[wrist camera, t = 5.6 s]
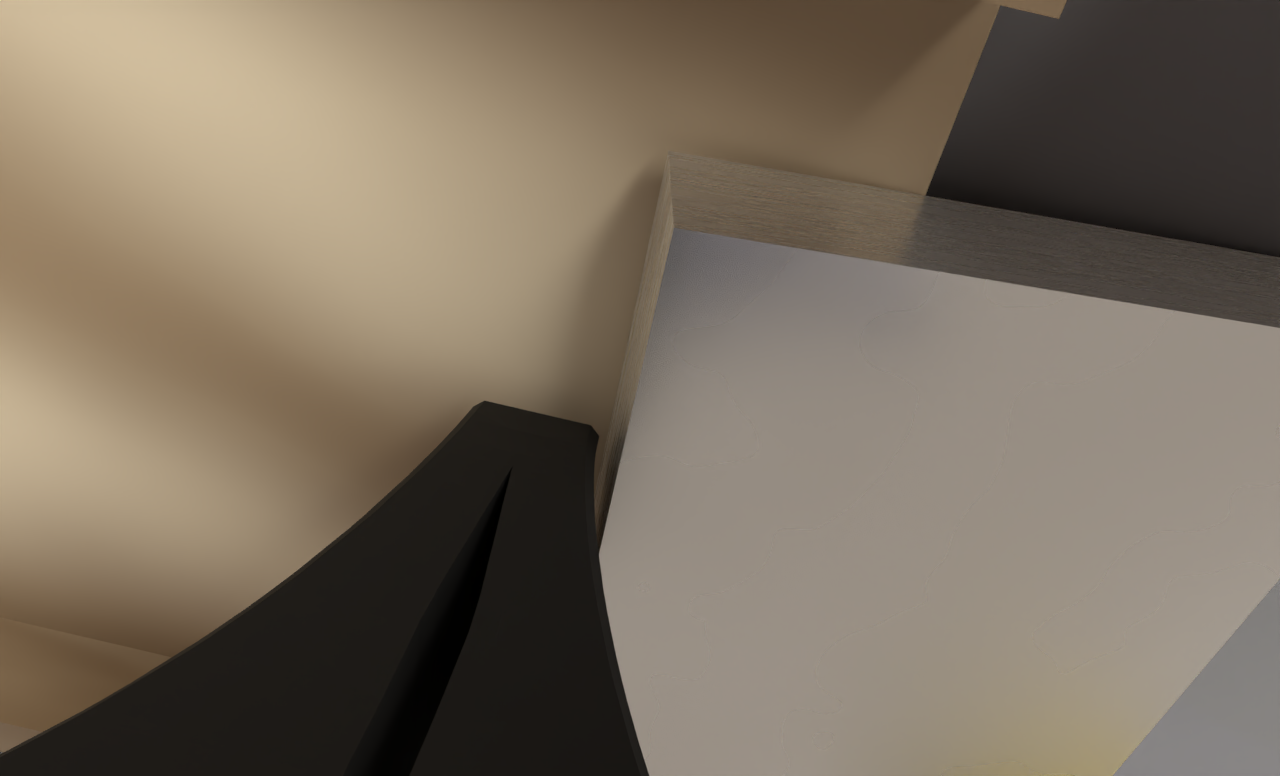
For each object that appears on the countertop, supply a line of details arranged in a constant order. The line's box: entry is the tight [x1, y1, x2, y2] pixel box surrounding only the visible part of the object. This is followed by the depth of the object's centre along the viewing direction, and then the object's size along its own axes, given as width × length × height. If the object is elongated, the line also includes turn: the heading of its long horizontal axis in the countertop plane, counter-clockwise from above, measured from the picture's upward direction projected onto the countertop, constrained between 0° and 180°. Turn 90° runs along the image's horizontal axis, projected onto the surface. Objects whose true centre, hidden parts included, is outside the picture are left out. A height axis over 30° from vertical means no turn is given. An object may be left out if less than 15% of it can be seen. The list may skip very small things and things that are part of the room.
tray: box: [0, 0, 1067, 752], centre depth 11 cm, size 14×17×2 cm
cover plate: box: [594, 151, 1280, 776], centre depth 11 cm, size 8×7×2 cm
